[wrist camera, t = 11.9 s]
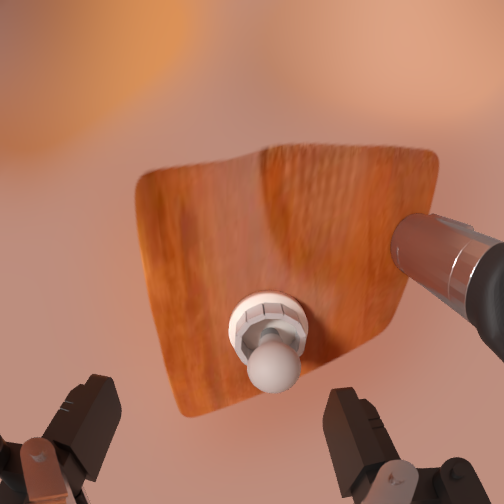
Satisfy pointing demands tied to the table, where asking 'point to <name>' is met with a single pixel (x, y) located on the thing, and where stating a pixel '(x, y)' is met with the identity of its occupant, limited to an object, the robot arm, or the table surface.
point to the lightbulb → (273, 363)
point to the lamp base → (267, 322)
